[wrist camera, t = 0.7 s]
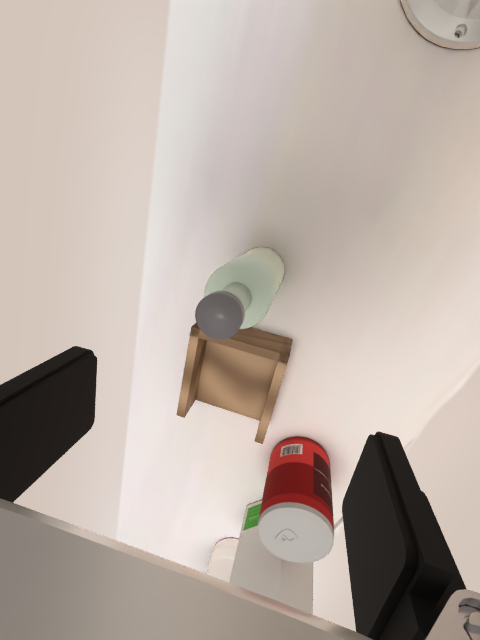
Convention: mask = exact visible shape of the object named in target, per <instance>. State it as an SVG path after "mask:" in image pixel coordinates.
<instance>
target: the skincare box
mask: <svg viewBox="0 0 480 640" xmlns="http://www.w3.org/2000/svg"><path fill="white" fill-rule="evenodd" d="M261 504H262V500H260V501H257V502H255V503H252V504H249V505H247V507H246V511H245V516H244V520H243V524H242V529H241V533H240V537H239V542H238V546H237V550H236V555H235V559H234V563H233V567H232V572H231V576H230V581H229V583H231V584H234V585H236V586H239V587H242V588H244V589H247V590H250V591H252V592H255V593H258V594H260V595H263V596H266V597H268V598H271V599H274V600H276V601H279V602H281V603H284V604H287V605H289V606H292V607H294V608H297V609H299V610H302V611H304V612H307V613H309V614H312V615H313V613H312V612H313V562H310V563H296V562H290V561H287V560H284V559H281V558H279V557H277V556H275V555H274V554H272V553H271V552H270V551H269V550H267V549H266V548H265V546H264V545H263V544H262V542H261V541H260V539H259V535H258V521H259V514H260V509H261Z"/></svg>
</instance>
